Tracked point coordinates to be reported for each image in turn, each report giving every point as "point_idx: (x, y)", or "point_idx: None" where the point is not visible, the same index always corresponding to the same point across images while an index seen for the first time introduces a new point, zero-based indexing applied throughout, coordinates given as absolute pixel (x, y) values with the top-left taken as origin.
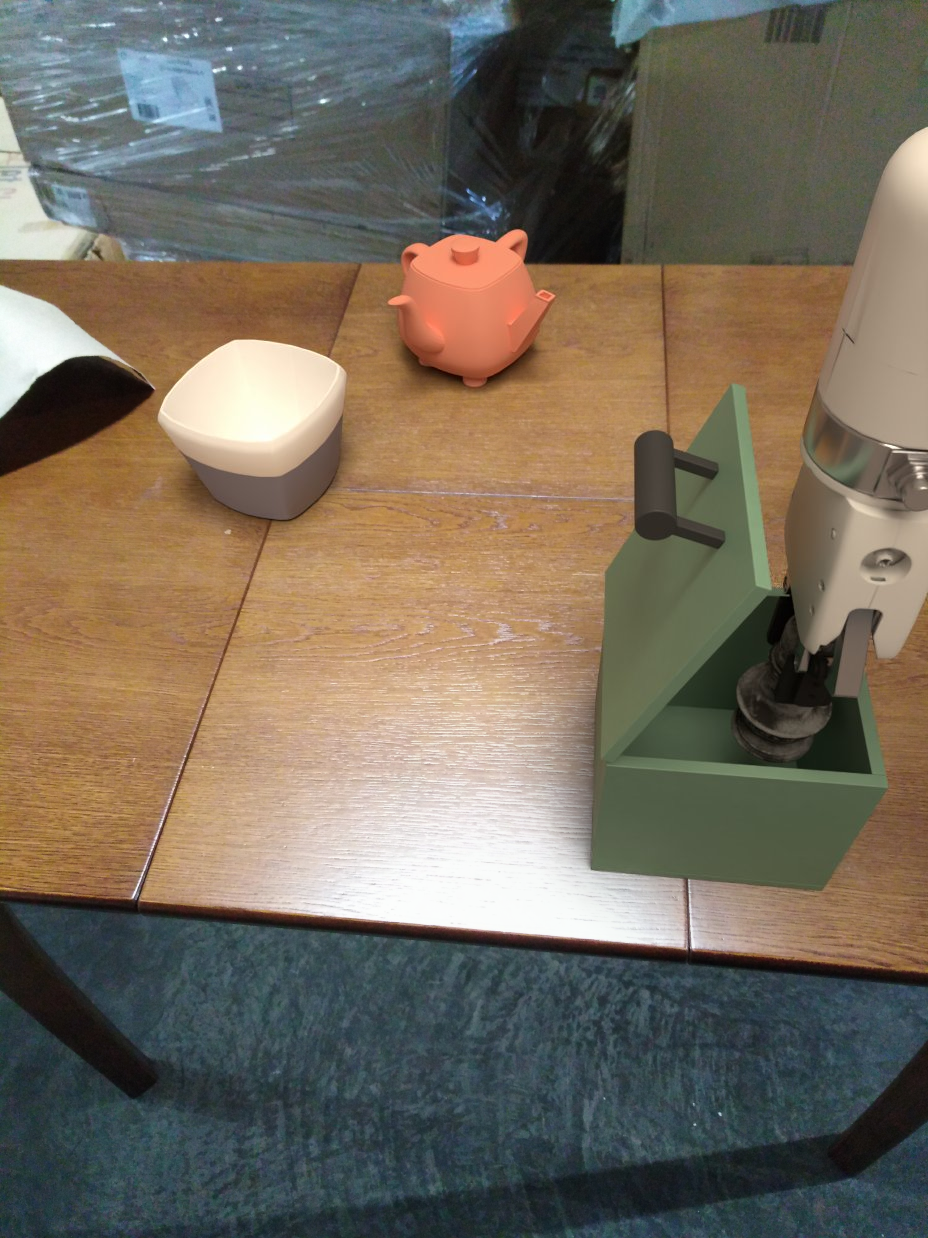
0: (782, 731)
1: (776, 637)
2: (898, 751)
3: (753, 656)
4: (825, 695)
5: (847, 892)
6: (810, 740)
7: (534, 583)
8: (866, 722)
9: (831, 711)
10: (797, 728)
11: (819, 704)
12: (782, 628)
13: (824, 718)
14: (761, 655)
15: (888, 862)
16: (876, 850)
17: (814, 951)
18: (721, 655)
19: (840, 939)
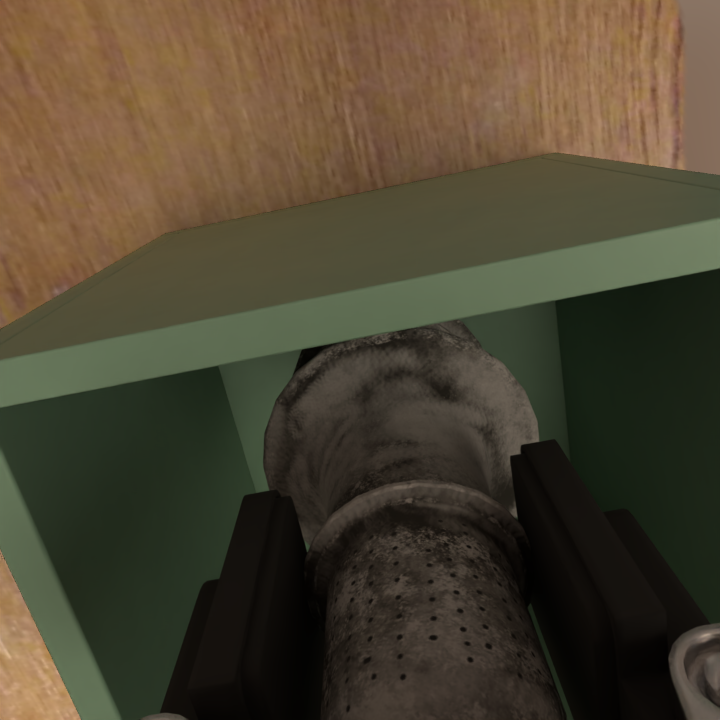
0: None
1: (323, 654)
2: (184, 4)
3: (167, 442)
4: (656, 548)
5: (548, 103)
6: None
7: (61, 704)
8: (561, 282)
9: (416, 330)
10: (508, 420)
11: (623, 510)
12: (318, 693)
13: (452, 350)
14: (160, 429)
15: (466, 21)
16: (445, 47)
17: (674, 157)
18: (190, 505)
19: (645, 111)
